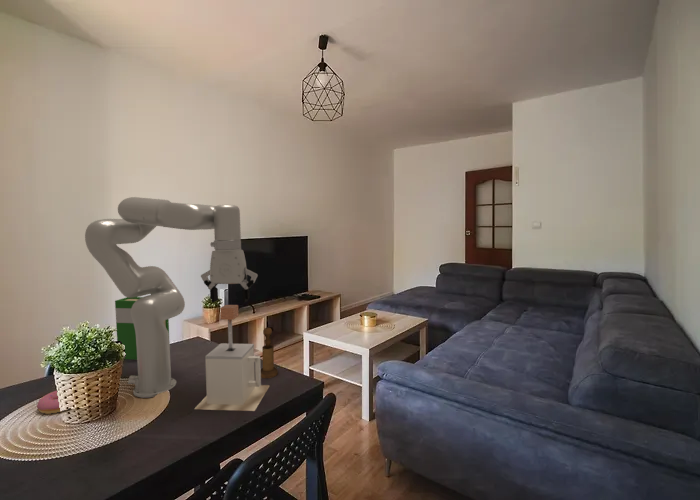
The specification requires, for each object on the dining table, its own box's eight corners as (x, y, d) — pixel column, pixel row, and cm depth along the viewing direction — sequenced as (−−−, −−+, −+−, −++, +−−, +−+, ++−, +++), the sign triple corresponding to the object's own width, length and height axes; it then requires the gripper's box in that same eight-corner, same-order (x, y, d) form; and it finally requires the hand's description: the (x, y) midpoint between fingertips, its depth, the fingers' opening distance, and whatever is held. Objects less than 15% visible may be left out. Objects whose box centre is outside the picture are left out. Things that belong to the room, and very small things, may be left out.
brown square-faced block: (212, 370, 107) (210, 309, 105) (223, 359, 115) (221, 303, 114) (239, 371, 106) (237, 310, 105) (248, 360, 115) (247, 303, 113)
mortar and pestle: (273, 381, 123) (272, 331, 122) (255, 380, 124) (254, 330, 123) (280, 373, 130) (279, 325, 128) (264, 372, 131) (263, 324, 130)
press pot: (207, 404, 106) (205, 356, 105) (222, 387, 117) (220, 343, 116) (254, 405, 105) (253, 357, 104) (265, 388, 116) (264, 344, 115)
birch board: (194, 412, 103) (193, 409, 103) (217, 386, 119) (217, 384, 119) (254, 414, 103) (254, 410, 102) (270, 388, 118) (270, 385, 118)
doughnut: (48, 420, 100) (47, 406, 100) (29, 411, 105) (28, 397, 104) (91, 402, 110) (90, 389, 109) (72, 394, 115) (71, 382, 114)
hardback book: (170, 353, 150) (167, 297, 148) (158, 360, 142) (156, 301, 141) (131, 352, 152) (128, 296, 150) (118, 358, 144) (114, 300, 142)
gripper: (194, 247, 104) (196, 304, 106) (252, 246, 103) (253, 304, 105) (205, 245, 112) (208, 298, 113) (259, 244, 111) (261, 298, 112)
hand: (230, 301), depth 109 cm, fingers open, 9 cm apart
